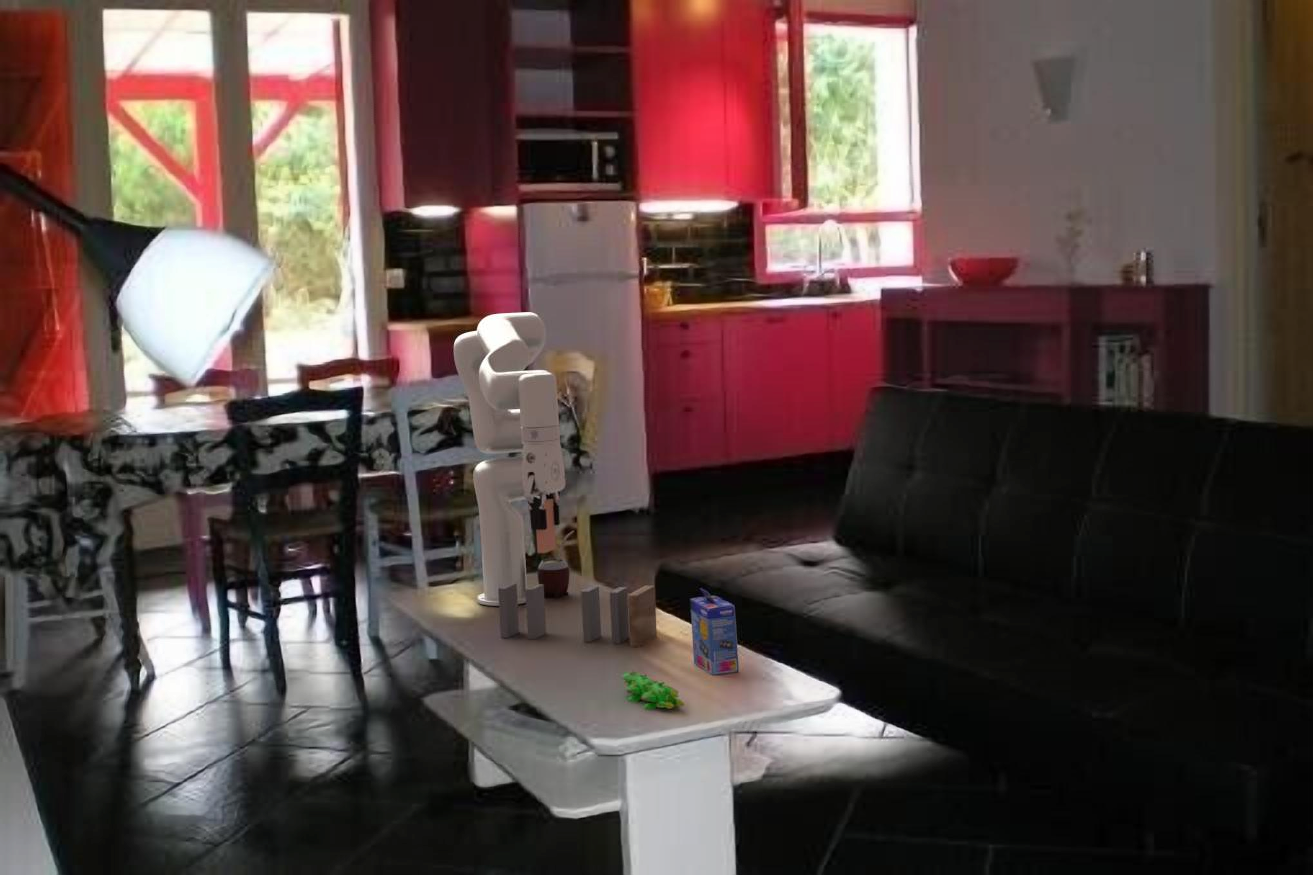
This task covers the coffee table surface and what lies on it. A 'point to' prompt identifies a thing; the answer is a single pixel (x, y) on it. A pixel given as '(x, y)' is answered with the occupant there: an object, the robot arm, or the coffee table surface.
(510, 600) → the domino
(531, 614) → the domino
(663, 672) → the coffee table surface
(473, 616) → the coffee table surface
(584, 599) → the domino
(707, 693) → the coffee table surface
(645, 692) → the green bumpy elongated piece
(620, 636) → the domino
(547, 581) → the mate gourd
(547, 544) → the domino
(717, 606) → the ink cartridge box
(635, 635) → the end post
